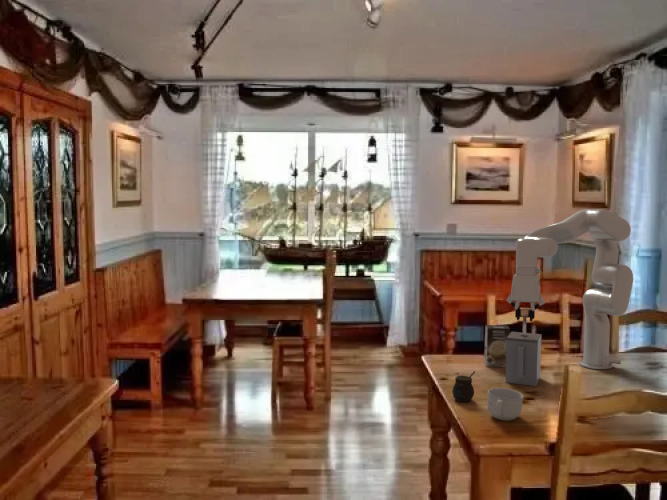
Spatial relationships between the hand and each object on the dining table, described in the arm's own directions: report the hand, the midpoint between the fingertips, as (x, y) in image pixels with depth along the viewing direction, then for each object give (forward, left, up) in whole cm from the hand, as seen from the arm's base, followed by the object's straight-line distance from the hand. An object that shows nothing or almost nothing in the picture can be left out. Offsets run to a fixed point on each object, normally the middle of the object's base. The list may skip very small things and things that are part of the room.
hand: (524, 319), depth 233 cm
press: (0, +2, -23) cm, 23 cm away
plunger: (0, 0, -13) cm, 13 cm away
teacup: (0, +44, -23) cm, 50 cm away
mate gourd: (+15, +32, -23) cm, 42 cm away
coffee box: (+13, -17, -23) cm, 32 cm away
